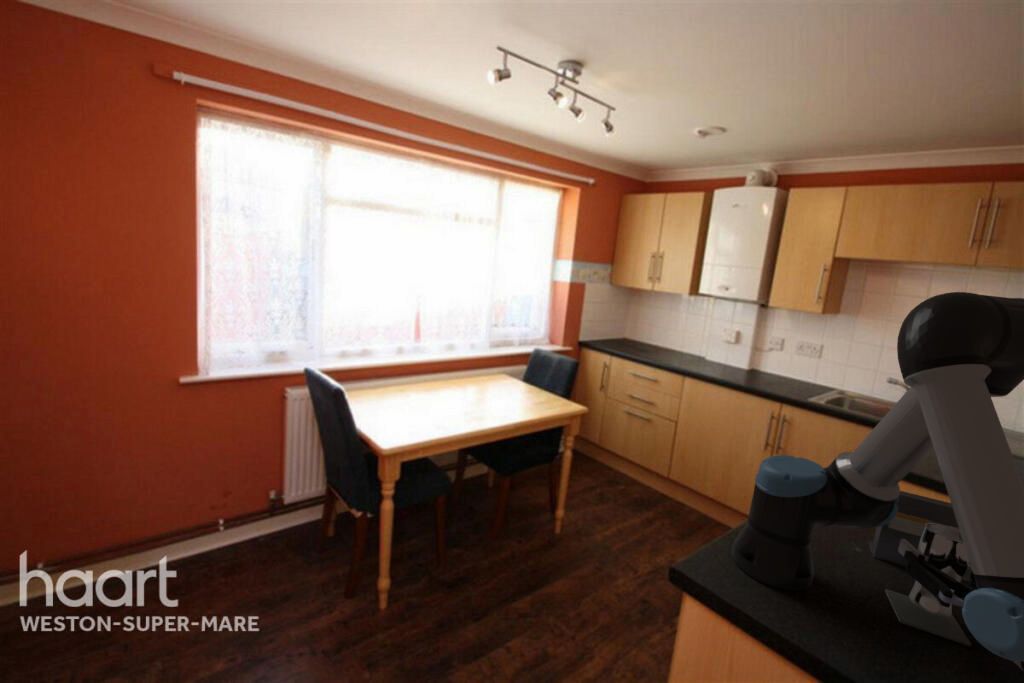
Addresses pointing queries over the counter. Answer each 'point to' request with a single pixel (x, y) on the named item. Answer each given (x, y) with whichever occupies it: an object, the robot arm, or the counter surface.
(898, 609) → the rubber mat
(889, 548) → the label panel
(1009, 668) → the counter surface
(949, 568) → the beer glass
